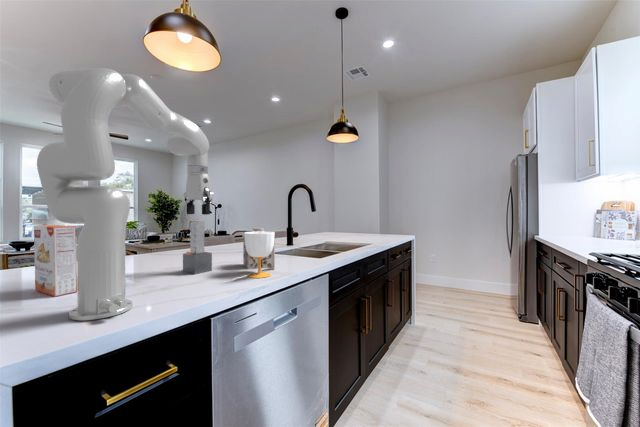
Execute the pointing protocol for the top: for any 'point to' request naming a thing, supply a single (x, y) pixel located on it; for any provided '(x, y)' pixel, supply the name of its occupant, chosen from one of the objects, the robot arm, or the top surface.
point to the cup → (259, 248)
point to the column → (197, 237)
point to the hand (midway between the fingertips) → (198, 214)
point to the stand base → (197, 263)
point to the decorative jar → (253, 263)
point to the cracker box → (55, 259)
